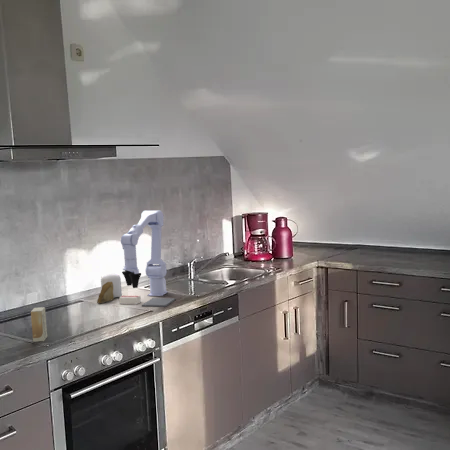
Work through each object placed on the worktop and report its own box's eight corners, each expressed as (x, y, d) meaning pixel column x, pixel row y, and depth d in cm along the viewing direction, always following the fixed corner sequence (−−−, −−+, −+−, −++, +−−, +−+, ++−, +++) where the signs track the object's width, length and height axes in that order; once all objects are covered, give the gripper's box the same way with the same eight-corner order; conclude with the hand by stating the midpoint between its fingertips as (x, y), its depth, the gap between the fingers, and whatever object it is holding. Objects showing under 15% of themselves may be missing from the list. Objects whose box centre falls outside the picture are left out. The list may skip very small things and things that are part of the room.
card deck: (124, 302, 284) (123, 294, 283) (140, 302, 281) (140, 295, 281) (119, 304, 279) (119, 297, 279) (136, 304, 277) (136, 297, 276)
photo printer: (102, 299, 290) (101, 275, 289) (101, 298, 294) (99, 274, 293) (122, 297, 294) (121, 273, 293) (121, 295, 298) (119, 272, 297)
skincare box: (36, 337, 226) (34, 307, 225) (47, 336, 226) (45, 306, 225) (32, 342, 220) (30, 311, 219) (44, 341, 220) (41, 310, 219)
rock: (99, 300, 278) (118, 294, 283) (93, 285, 281) (111, 280, 286) (96, 310, 286) (114, 304, 291) (89, 295, 289) (107, 289, 294)
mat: (152, 299, 285) (152, 298, 285) (175, 300, 282) (175, 298, 282) (141, 306, 271) (141, 304, 271) (165, 306, 268) (165, 305, 268)
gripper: (117, 258, 277) (119, 285, 278) (128, 261, 264) (130, 290, 266) (130, 256, 280) (132, 283, 282) (142, 259, 268) (144, 287, 269)
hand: (132, 286), depth 274 cm, fingers open, 7 cm apart
